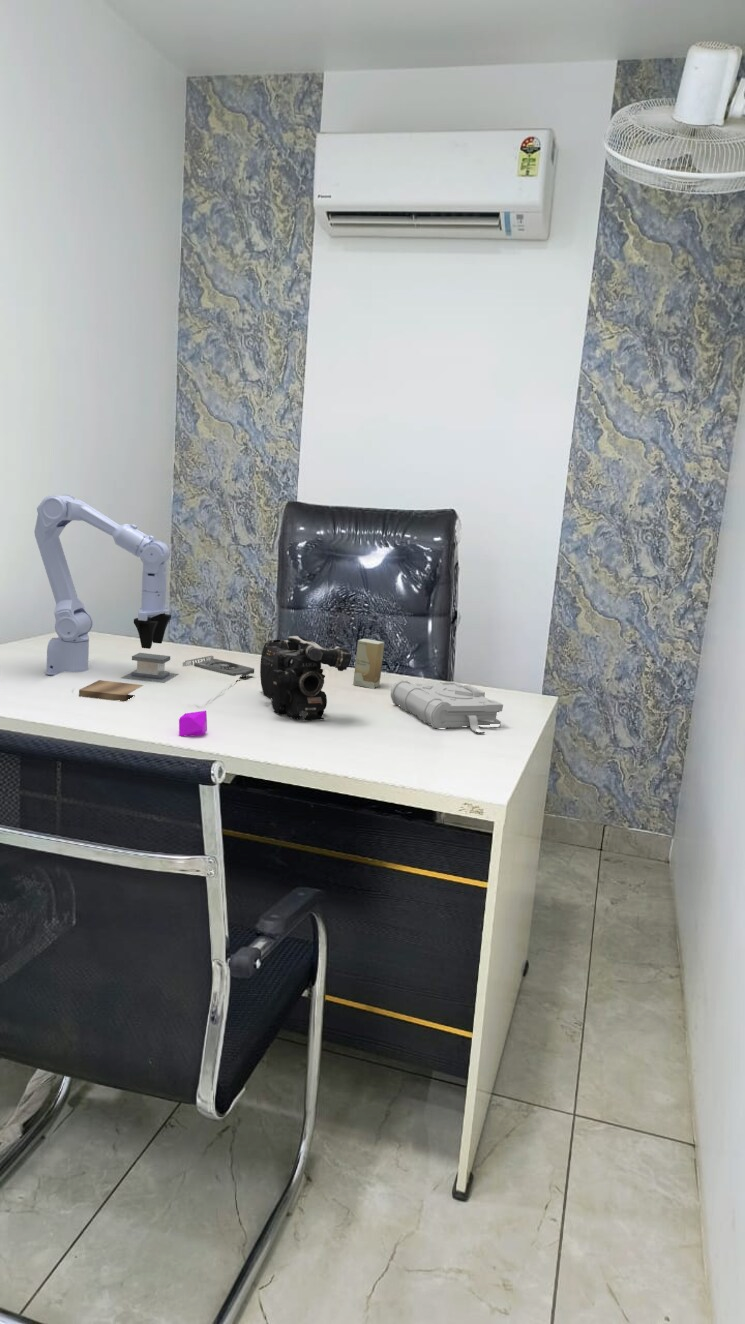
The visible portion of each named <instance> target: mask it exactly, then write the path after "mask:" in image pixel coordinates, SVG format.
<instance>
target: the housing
mask: <svg viewBox="0 0 745 1324" xmlns="http://www.w3.org/2000/svg"><path fill="white" fill-rule="evenodd" d="M131 661H135V662H136V665H137V666H136V669H134V670H133V671H131V672H130V673H131V676H135V677H144V678H152V679H161V680H163V679H165V678H166V677H168V676H170V673H171V672H170V671H165V664H166V663H168V662H170V661H171V656H170V655H166V654H165V655H164V654H163V655H162V654H154V653H146V652H138V653H136V654H134V655H132V656H131Z"/></svg>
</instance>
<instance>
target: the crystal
mask: <svg viewBox="0 0 745 1324" xmlns="http://www.w3.org/2000/svg"><path fill="white" fill-rule="evenodd" d="M207 731H208V718H207V710H201V711H195V712H186V713H184V714H183V715H181V716H180V717H179V719H178V733H179V734H178V737H179V736H181V737H190V736H189V735H195V736H204V735H206V733H207Z"/></svg>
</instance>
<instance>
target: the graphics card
mask: <svg viewBox="0 0 745 1324" xmlns="http://www.w3.org/2000/svg"><path fill="white" fill-rule="evenodd" d="M188 662H190V663H188ZM188 666H194V667H196V668H200V669H203V670H206V671H207V670H208V671H211V672H215V673H218V674H223V675H228V676H234V677H236V676H239V678H240V677H241V676H242V677H247V676H248V675H251V674H252V675H253V674H255V668H253V667H250V666H245V665H243V664H238V663H234V662H230V661H227V660H222V659H218V658H214V655H208V656H203V657H197V658H193V659H191V658H190V659H187V660H185V661H184V662H182V667H188Z"/></svg>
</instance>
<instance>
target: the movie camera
mask: <svg viewBox="0 0 745 1324" xmlns="http://www.w3.org/2000/svg"><path fill="white" fill-rule="evenodd" d="M351 661H352V653H351V652H350V651H349V649H347V648H344V647H342V646H338V645H336V646H333V647H329V648H324V647H322V646H320V645H319V644H318V643H316V642H315V641H312V640H311V639H310V640H309V639H307V638H304V637H302V636H298V635H293V636H288V637H287V639H269V640H268V641H266V642H265V643H264V645H263V648H262V651H261V656H260V666H259V676H260V685H261V689H262V693H263V694H264V695H265V696H267V698H269V699H271V707H272V710H273V712H274V713H275V714H277V715H278V716H280V715H281V716H283V715H284V716H286V717H287V718H290V719H293V720H297V721H298V720H299V721H300V720H301V721H305V722H309V721H320V720H321V721H323V720H325V717H323V716H324V714H325V709H326V708H327V704H328V698H327V694H326V691H323V690H322V689H323V687H324V684H325V678H326V675H325V674H323V673H324V668H322V664H324V665H328V667H330V668H335V669H337V671H338V672H343V671H346V670H347V669H348V668H349V666H350V663H351ZM302 712H304V713H305V712H306V715H305V716H304V717H303V716H302V715H301V713H302Z"/></svg>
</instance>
